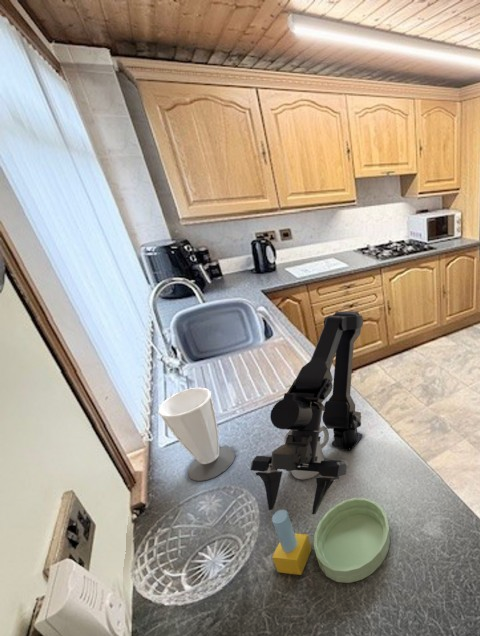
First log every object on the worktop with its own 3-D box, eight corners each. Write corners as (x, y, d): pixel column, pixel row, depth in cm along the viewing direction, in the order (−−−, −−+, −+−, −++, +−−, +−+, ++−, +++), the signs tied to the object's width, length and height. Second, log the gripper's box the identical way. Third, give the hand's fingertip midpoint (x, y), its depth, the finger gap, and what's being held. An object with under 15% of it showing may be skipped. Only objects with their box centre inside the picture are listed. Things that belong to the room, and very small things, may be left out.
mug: (304, 485, 87) (295, 454, 83) (284, 470, 92) (275, 439, 87) (341, 454, 96) (334, 424, 91) (321, 441, 101) (314, 412, 96)
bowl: (346, 501, 83) (343, 488, 81) (402, 525, 77) (401, 512, 75) (302, 564, 71) (297, 551, 69) (365, 598, 65) (362, 585, 63)
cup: (217, 442, 102) (193, 382, 93) (244, 454, 97) (221, 393, 88) (178, 472, 93) (146, 409, 83) (205, 487, 88) (175, 422, 79)
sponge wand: (289, 546, 74) (274, 503, 68) (311, 549, 73) (298, 505, 67) (277, 572, 70) (260, 528, 63) (301, 575, 69) (286, 530, 63)
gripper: (242, 426, 69) (223, 516, 63) (333, 432, 66) (320, 525, 61) (272, 428, 79) (257, 505, 74) (351, 433, 77) (341, 513, 71)
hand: (292, 512), depth 70 cm, fingers open, 9 cm apart
